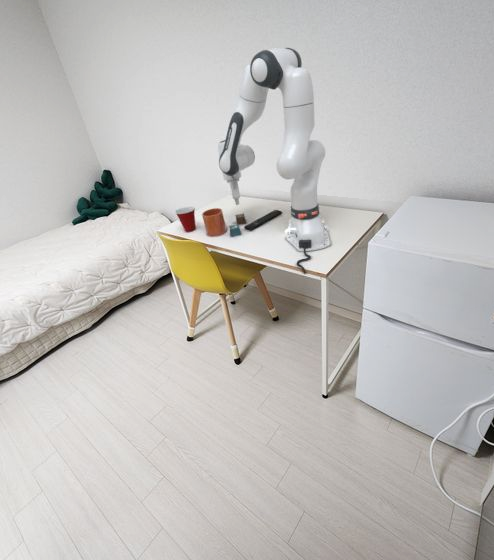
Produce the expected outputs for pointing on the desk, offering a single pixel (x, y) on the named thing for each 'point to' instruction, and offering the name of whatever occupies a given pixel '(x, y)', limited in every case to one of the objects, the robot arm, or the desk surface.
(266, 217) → the remote control
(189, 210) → the plastic cup
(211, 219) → the terracotta cup
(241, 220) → the brown block
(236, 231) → the teal block
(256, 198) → the desk surface
